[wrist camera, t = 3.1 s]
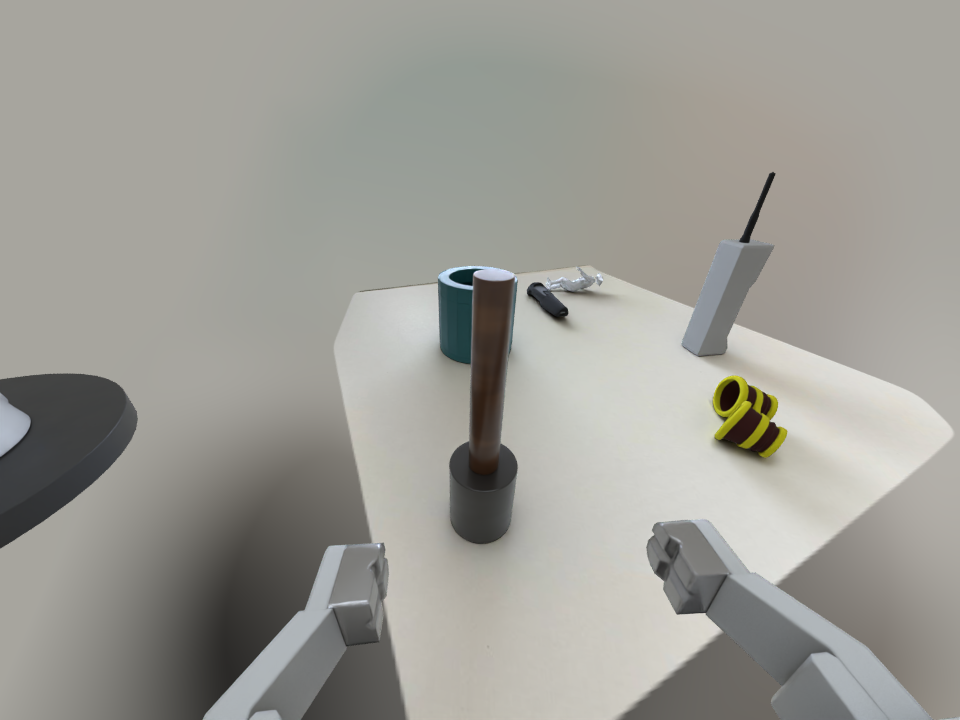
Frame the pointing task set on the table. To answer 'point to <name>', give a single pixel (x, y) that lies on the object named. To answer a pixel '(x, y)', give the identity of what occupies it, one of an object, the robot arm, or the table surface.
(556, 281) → the soldier figure
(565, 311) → the electric trimmer
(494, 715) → the table surface
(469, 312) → the cup
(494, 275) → the brush
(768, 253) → the vintage mobile phone
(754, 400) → the opera glasses
